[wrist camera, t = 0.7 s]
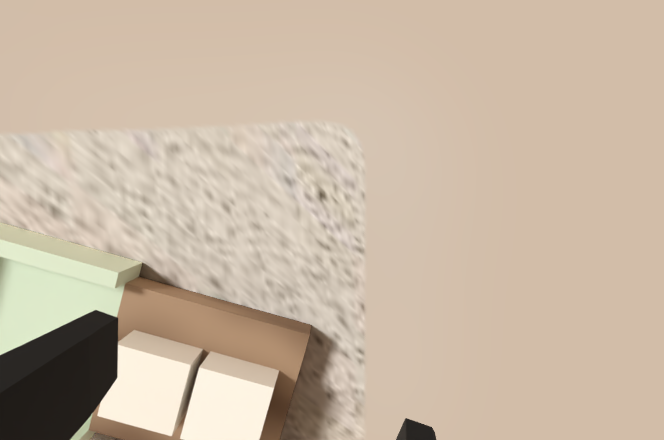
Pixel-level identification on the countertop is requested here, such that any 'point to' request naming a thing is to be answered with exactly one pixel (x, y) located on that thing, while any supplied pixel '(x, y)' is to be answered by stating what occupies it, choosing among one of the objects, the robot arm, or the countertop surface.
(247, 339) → the board
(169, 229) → the countertop surface
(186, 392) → the tile
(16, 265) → the tray
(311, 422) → the countertop surface
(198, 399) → the tile
